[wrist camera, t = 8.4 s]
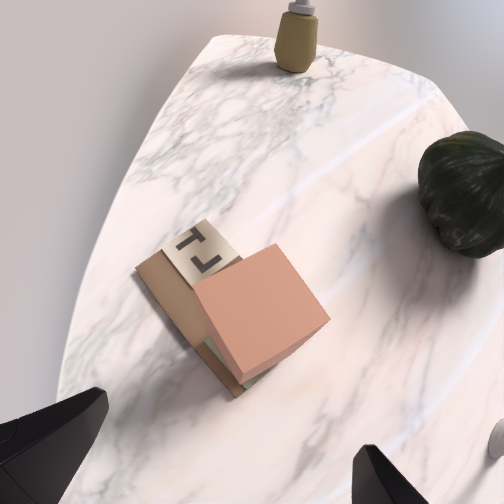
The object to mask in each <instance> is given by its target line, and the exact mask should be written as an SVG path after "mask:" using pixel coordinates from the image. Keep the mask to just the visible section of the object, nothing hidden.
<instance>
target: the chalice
mask: <svg viewBox="0 0 504 504" xmlns="http://www.w3.org/2000/svg"><path fill="white" fill-rule="evenodd" d="M488 449H489V454H490V457H491V458H493V459H497V458H499V457H501V456H503V455H504V419H501V420H500V421H499V422H498V423H497V424H496V426H495V427H494V429H493V431H492V433H491V436H490V440H489V447H488Z"/></svg>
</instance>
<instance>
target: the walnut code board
mask: <svg viewBox="0 0 504 504" xmlns="http://www.w3.org/2000/svg"><path fill="white" fill-rule="evenodd" d="M242 260H243V259H242V258H241V257H240V254H239V253H238V252H237V251H236V250H235V249H234V248H233V247H232V246H231V245H230V244H229V243H228V242H227V241H226V240H225V239H224V238H223V237H222V235H221V234H220V233H219V232H218V231H217V230H216V229H215V228H214V227H213V226H212V225H211V224H210V223H209V222H208V221H207V220H206V219H204V220H202V221H201V222H199V223H198V224H196V225H195V226H193V227H192V228H190V229H189V230H187V231H186V232H184V233H183V234H181V235H180V236H178V237H177V238H175V239H174V240H172V241H171V242H169V243H168V244H166V245H165V246H163V247H162V249H161V250H160V251H158V252H157V253H155V254H154V255H152V256H151V257H150V258H148V259H147V260H145V261H144V262H142V263H141V264H140V265H138V266H137V267H135V269H136V270H137V272H138V273H139V275H140V276H141V278H142V279H143V281H144V282H145V283H146V285H147V286H148V288H149V289H150V291H151V292H152V294H153V295H154V296H155V298H156V299H157V301H158V302H159V303H160V305H161V306H162V307H163V309H164V310H165V312H166V313H167V314H168V316H169V317H170V318H171V320H172V321H173V322H174V324H175V325H176V326H177V328H178V329H179V330H180V331H181V333H182V334H183V335H184V337H185V338H186V339H187V340H188V342H189V343H190V344H191V345H192V347H193V348H194V349H195V350H196V352H197V353H198V354H199V355H200V357H201V358H202V359H203V360H204V361H205V363H206V364H207V365H208V366H209V367H210V369H211V370H212V371H213V372H214V373H215V374H216V376H217V377H218V378H219V379H220V380H221V381H222V382H223V384H224V385H225V386H226V387H227V388H228V389H229V390H230V391H231V393H232V394H233V395H234V396H235V397H236V398H237V397H239V396H240V395H241V394H242V393H244V392H245V391H246V390H247V389H249V388H250V387H251V386H252V385H253V384H255V383H256V382H257V381H258V380H259V379H260V378H262V377H263V376H264V375H265V374H266V373H267V372H269V371H270V370H271V369H272V368H273V367H274V366H276V365H277V364H278V363H279V362H278V363H277V364H275V365H274V366H272V367H270V368H269V369H267V370H265V371H264V372H262V373H260V374H258V375H257V376H255V377H253V378H251V379H250V380H248V381H246V382H244V383H243V384H241V385H239V383H238V382H237V380H236V378H235V377H234V375H233V373H232V372H231V370H230V369H229V367H228V365H227V364H226V362H225V360H224V359H223V357H222V355H221V354H220V352H219V350H218V348H217V347H216V345H215V343H214V342H213V340H212V338H211V336H210V334H209V332H208V329H207V326H206V323H205V321H204V318H203V315H202V313H201V310H200V307H199V304H198V301H197V298H196V296H195V293H194V290H193V287H192V285H194V284H196V283H198V282H200V281H202V280H204V279H206V278H208V277H210V276H212V275H214V274H216V273H218V272H220V271H222V270H224V269H226V268H228V267H230V266H232V265H234V264H236V263H238V262H240V261H242Z"/></svg>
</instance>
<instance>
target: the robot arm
mask: <svg viewBox="0 0 504 504" xmlns="http://www.w3.org/2000/svg"><path fill="white" fill-rule="evenodd" d="M108 410H109V403H108V398H107V393H106V391H105V390H103V389H101V388H98V387H93V388H91V389H89V390H86V391H84V392H82V393H79V394H77V395H75V396H72V397H70V398H68V399H65V400H63V401H60V402H58V403H56V404H53V405H51V406H48V407H46V408H43V409H41V410H38V411H36V412H33V413H31V414H28V415H25V416H23V417H20V418H19V419H14V420H12V421H9V422H6V423H3V424H0V504H58V503H59V501H60V499H61V497H62V496H63V494H64V492H65V490H66V489H67V487H68V485H69V483H70V482H71V480H72V478H73V477H74V475H75V473H76V472H77V470H78V468H79V467H80V465H81V463H82V462H83V460H84V458H85V457H86V455H87V453H88V452H89V450H90V448H91V447H92V445H93V443H94V441H95V439H96V437H97V435H98V432H99V430H100V428H101V426H102V423H103V421H104V419H105V417H106V415H107V412H108ZM352 504H429V503H428V502H427V501H426V500H425V499H424V498H423V496H422V495H421V494H420V493H419V492H418V491H417V490H416V489H415V488H414V487H413V486H412V485H411V484H410V483H409V482H408V480H407V479H406V478H405V477H404V476H403V475H402V474H401V473H400V472H399V471H398V470H397V468H396V467H395V466H394V465H393V464H392V463H391V462H390V461H389V460H388V458H387V457H386V456H385V455H384V454H383V453H382V452H381V451H380V450H379V448H378V447H377V446H376V445H373V444H366V445H363V446H362V447H361V449H360V450H359V452H358V453H357V454H356V455H355V457H354V459H353V473H352Z"/></svg>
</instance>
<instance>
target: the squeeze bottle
mask: <svg viewBox="0 0 504 504" xmlns="http://www.w3.org/2000/svg"><path fill="white" fill-rule="evenodd" d="M314 9H315V7H314V6H312V5H310V4H309V0H296V1H295V2H291V3H289V8H288V10H289V11H288V12H285V13H283V15H282V18H281V22H280V27H279V31H278V35H277V39H276V43H275V48H274V52H275V56H276V60H277V64H278V66H279V67H280V68H282V69H283V70H287V71H290V72H305V71H307V70H308V68H309V67H310V65H311V63H312V62H313V60H314V59H315V56H316V42H317V25H318V19H317V18H316V17H315V16H313V14H314Z"/></svg>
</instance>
